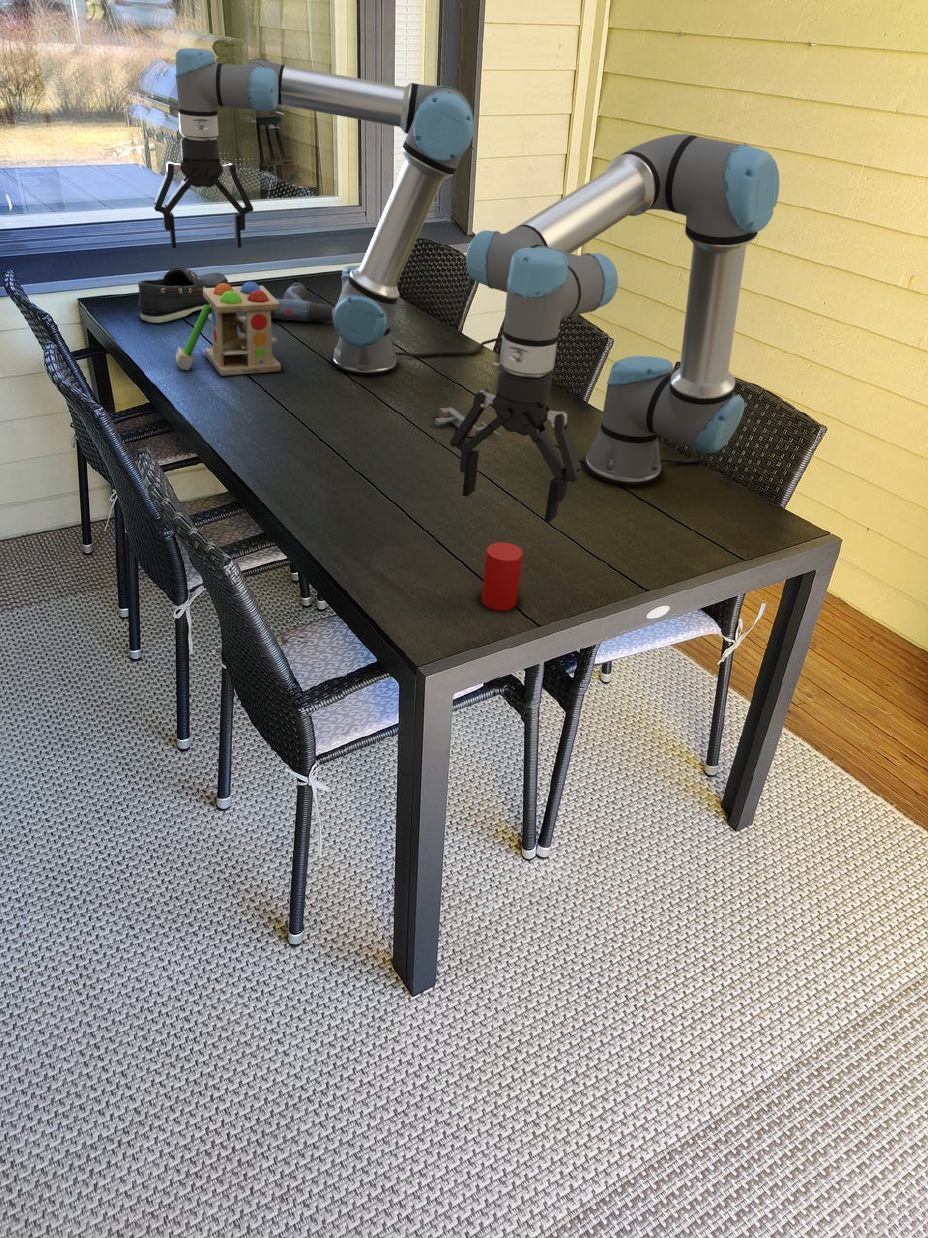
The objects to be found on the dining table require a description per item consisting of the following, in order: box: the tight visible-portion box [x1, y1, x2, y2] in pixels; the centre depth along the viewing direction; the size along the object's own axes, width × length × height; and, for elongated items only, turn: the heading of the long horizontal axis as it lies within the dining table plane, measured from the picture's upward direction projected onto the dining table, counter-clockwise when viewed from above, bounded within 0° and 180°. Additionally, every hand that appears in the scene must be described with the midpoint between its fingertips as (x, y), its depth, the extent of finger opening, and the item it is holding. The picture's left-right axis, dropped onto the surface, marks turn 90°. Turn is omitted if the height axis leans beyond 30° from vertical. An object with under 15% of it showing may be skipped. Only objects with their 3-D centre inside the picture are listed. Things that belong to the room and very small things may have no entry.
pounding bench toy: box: [174, 281, 282, 377], centre depth 225 cm, size 23×14×18 cm, turn 116°
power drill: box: [271, 282, 335, 322], centre depth 265 cm, size 5×19×20 cm
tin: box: [481, 541, 523, 611], centre depth 154 cm, size 6×6×9 cm
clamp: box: [434, 407, 502, 438], centre depth 210 cm, size 15×2×10 cm
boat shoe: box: [137, 266, 230, 324], centre depth 260 cm, size 13×33×10 cm, turn 147°
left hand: (206, 246), depth 210 cm, fingers open, 13 cm apart
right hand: (508, 505), depth 147 cm, fingers open, 13 cm apart
